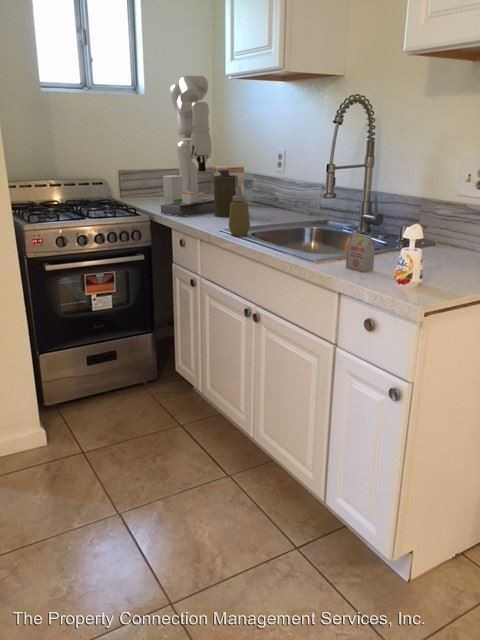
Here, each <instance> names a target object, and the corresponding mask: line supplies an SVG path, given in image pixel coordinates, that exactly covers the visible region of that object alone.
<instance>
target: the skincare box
mask: <svg viewBox="0 0 480 640" xmlns="http://www.w3.org/2000/svg"><path fill="white" fill-rule="evenodd" d="M162 184H163V185H162V186H163V202H164V203H163V205H165V204H170V203H178V202H182V192H183V179H182V176H180V175H162Z"/></svg>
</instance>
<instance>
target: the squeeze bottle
mask: <svg viewBox="0 0 480 640" xmlns="http://www.w3.org/2000/svg"><path fill="white" fill-rule="evenodd" d="M249 212H250V211H249V203H248V202H247V201H246V195H244V196H243V195H242V190H241V186H237V190H236V196H233V202H231V203H230V215H229V217H228V228H229V231H230V234H231V236H233V237H245V236H247V235H248V233H249V229H250V226H251V222H250V213H249Z"/></svg>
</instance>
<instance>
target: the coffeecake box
mask: <svg viewBox="0 0 480 640" xmlns="http://www.w3.org/2000/svg"><path fill="white" fill-rule="evenodd" d="M220 170H228V171H229V175H237V179H238V186H241V190H242V195H243V196H245V167H244V165H221V166H220V165H218V166H217V165H216V166H215V165H214V168H213V171H214V172H213V173H214V175H213V176H220V172H218V171H220ZM236 190H237V185H236Z"/></svg>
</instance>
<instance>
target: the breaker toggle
mask: <svg viewBox="0 0 480 640" xmlns="http://www.w3.org/2000/svg"><path fill="white" fill-rule="evenodd" d="M194 202H197V192H189V191H188V192H182V203H194Z"/></svg>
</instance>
